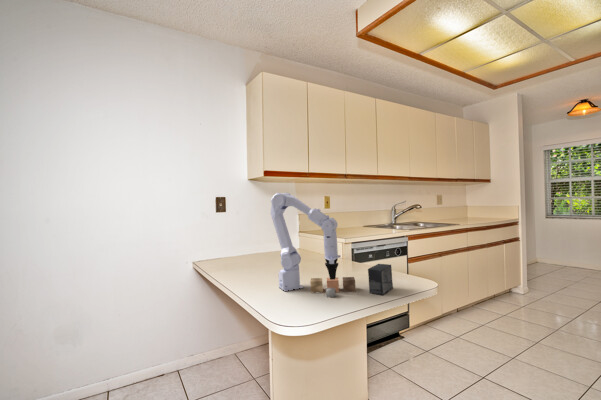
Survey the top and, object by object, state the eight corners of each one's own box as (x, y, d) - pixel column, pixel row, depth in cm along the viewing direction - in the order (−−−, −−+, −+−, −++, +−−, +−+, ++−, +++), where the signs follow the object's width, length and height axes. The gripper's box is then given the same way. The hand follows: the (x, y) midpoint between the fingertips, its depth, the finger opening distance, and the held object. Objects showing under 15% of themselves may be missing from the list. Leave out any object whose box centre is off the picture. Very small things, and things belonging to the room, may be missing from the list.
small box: (379, 286, 131) (378, 263, 131) (393, 288, 127) (392, 264, 127) (368, 293, 123) (367, 268, 123) (383, 295, 119) (381, 269, 119)
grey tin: (329, 298, 119) (328, 291, 119) (324, 295, 123) (324, 288, 123) (337, 296, 121) (337, 289, 121) (332, 294, 125) (332, 286, 125)
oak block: (311, 293, 128) (310, 281, 128) (311, 289, 133) (310, 278, 133) (322, 292, 127) (321, 281, 127) (322, 289, 132) (322, 277, 132)
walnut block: (343, 292, 126) (343, 280, 126) (343, 288, 131) (342, 277, 131) (355, 291, 126) (355, 280, 126) (354, 288, 131) (354, 276, 131)
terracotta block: (327, 292, 127) (326, 280, 127) (327, 288, 132) (326, 277, 132) (339, 292, 127) (338, 280, 127) (338, 288, 132) (338, 277, 132)
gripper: (340, 248, 122) (342, 281, 122) (339, 242, 136) (340, 272, 136) (323, 249, 122) (325, 281, 122) (323, 243, 137) (325, 272, 137)
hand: (332, 276), depth 129 cm, fingers open, 7 cm apart
